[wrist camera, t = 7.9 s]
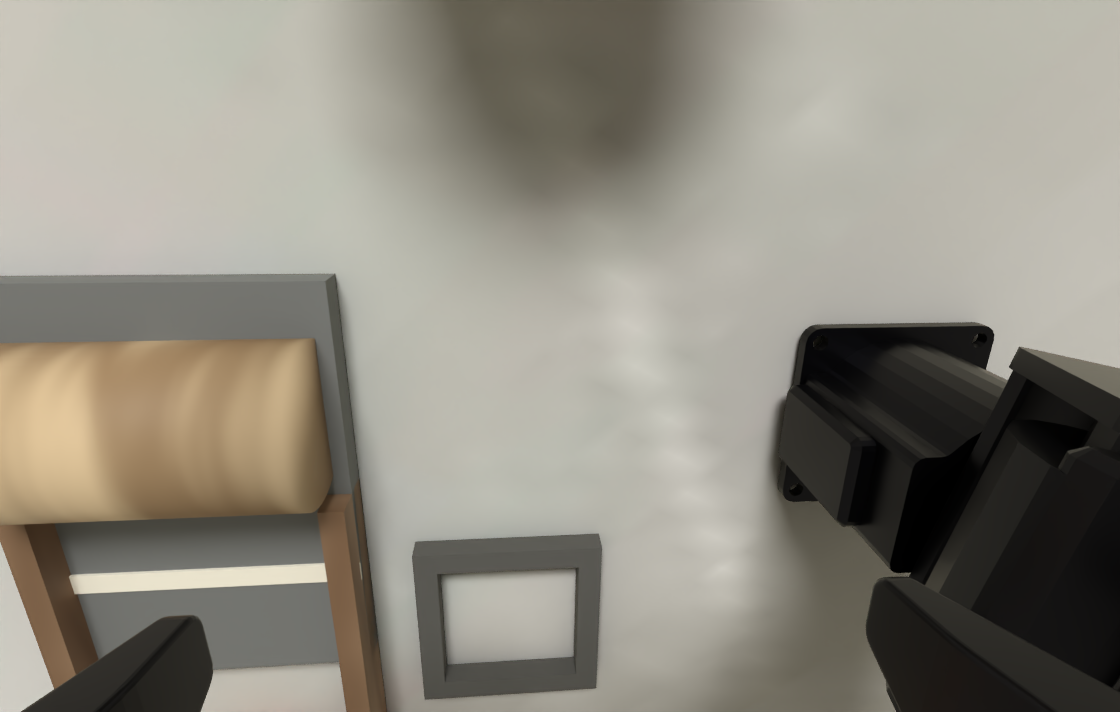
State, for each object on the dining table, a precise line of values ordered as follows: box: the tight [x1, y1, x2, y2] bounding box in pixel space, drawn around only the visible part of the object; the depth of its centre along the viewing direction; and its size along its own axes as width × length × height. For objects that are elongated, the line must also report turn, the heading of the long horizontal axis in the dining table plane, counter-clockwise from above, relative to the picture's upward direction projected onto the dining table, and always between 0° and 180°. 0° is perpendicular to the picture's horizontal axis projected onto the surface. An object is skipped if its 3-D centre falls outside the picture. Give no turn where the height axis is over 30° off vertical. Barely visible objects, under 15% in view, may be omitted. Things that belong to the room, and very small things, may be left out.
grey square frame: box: [412, 534, 602, 699], centre depth 22 cm, size 7×7×1 cm
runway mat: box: [0, 274, 378, 670], centre depth 19 cm, size 10×14×1 cm
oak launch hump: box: [0, 338, 333, 525], centre depth 17 cm, size 9×5×5 cm, turn 89°
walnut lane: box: [0, 479, 387, 712], centre depth 21 cm, size 11×15×3 cm
